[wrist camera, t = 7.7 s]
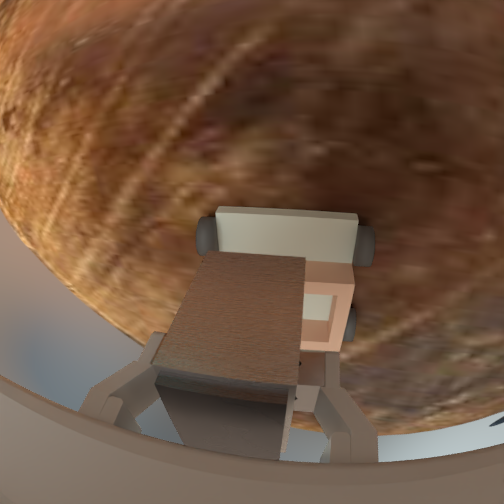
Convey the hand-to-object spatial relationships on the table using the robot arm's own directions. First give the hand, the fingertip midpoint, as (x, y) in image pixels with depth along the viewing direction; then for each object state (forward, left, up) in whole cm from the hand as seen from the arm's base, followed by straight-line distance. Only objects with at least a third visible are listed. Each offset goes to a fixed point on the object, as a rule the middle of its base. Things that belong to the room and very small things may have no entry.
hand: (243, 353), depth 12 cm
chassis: (+12, 0, -22) cm, 25 cm away
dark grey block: (0, 0, -3) cm, 3 cm away
